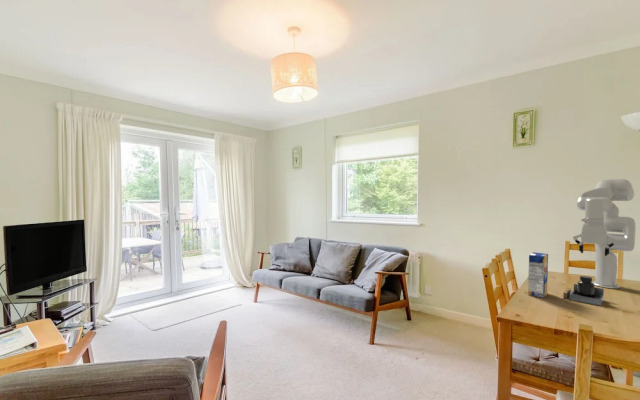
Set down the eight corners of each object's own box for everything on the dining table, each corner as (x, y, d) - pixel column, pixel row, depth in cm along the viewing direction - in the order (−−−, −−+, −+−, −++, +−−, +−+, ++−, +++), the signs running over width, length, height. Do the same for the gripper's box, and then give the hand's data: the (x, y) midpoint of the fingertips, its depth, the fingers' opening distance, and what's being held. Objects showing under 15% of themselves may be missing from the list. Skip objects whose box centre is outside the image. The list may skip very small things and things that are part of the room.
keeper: (573, 294, 171) (574, 283, 171) (603, 300, 162) (603, 288, 162) (569, 299, 163) (569, 288, 163) (600, 305, 154) (600, 293, 154)
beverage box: (528, 295, 170) (529, 254, 170) (532, 290, 178) (533, 252, 178) (543, 298, 166) (544, 256, 165) (547, 293, 173) (548, 253, 173)
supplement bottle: (589, 298, 166) (589, 275, 166) (597, 302, 159) (598, 279, 159) (574, 297, 167) (574, 274, 167) (581, 301, 161) (582, 278, 160)
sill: (568, 293, 173) (568, 288, 173) (570, 294, 172) (570, 288, 172) (563, 298, 165) (563, 292, 165) (566, 298, 164) (566, 293, 164)
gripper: (571, 221, 168) (571, 252, 168) (616, 223, 155) (615, 257, 155) (574, 220, 173) (574, 250, 173) (617, 222, 160) (617, 255, 160)
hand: (593, 254), depth 164 cm, fingers open, 9 cm apart
